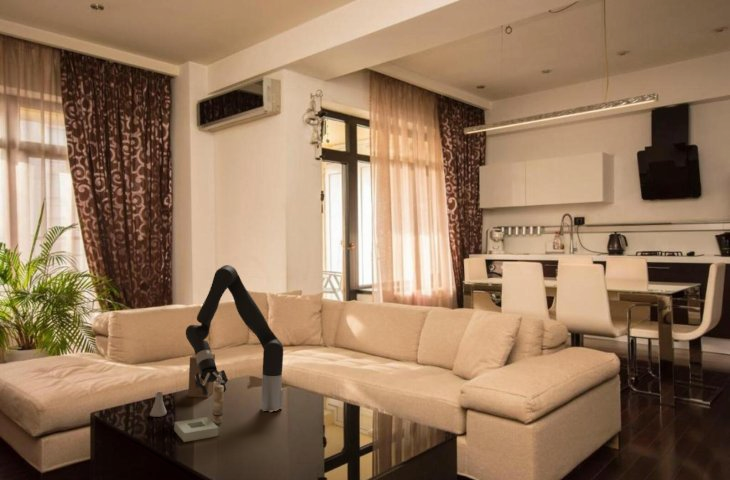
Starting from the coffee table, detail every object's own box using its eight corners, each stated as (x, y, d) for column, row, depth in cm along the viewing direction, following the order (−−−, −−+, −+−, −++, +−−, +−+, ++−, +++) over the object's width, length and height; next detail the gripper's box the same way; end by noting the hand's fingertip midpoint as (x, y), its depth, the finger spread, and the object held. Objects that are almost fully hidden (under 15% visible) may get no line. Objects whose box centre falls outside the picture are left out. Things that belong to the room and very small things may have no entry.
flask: (160, 418, 242) (161, 395, 242) (146, 416, 244) (147, 394, 244) (169, 413, 249) (170, 391, 249) (155, 411, 251) (156, 389, 251)
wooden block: (207, 398, 273) (209, 358, 272) (187, 397, 273) (189, 357, 273) (213, 392, 283) (215, 354, 282) (194, 391, 283) (196, 352, 283)
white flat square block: (206, 424, 237) (207, 416, 237) (218, 435, 226) (218, 427, 226) (174, 430, 229) (174, 422, 229) (184, 441, 218) (184, 433, 218)
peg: (220, 420, 244) (221, 384, 243) (223, 423, 240) (225, 387, 240) (211, 421, 241) (212, 385, 241) (214, 424, 238) (216, 388, 238)
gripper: (193, 359, 245) (202, 391, 237) (223, 356, 254) (232, 386, 246) (188, 368, 249) (197, 400, 241) (217, 364, 258) (227, 395, 250)
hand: (215, 393), depth 243 cm, fingers open, 8 cm apart
